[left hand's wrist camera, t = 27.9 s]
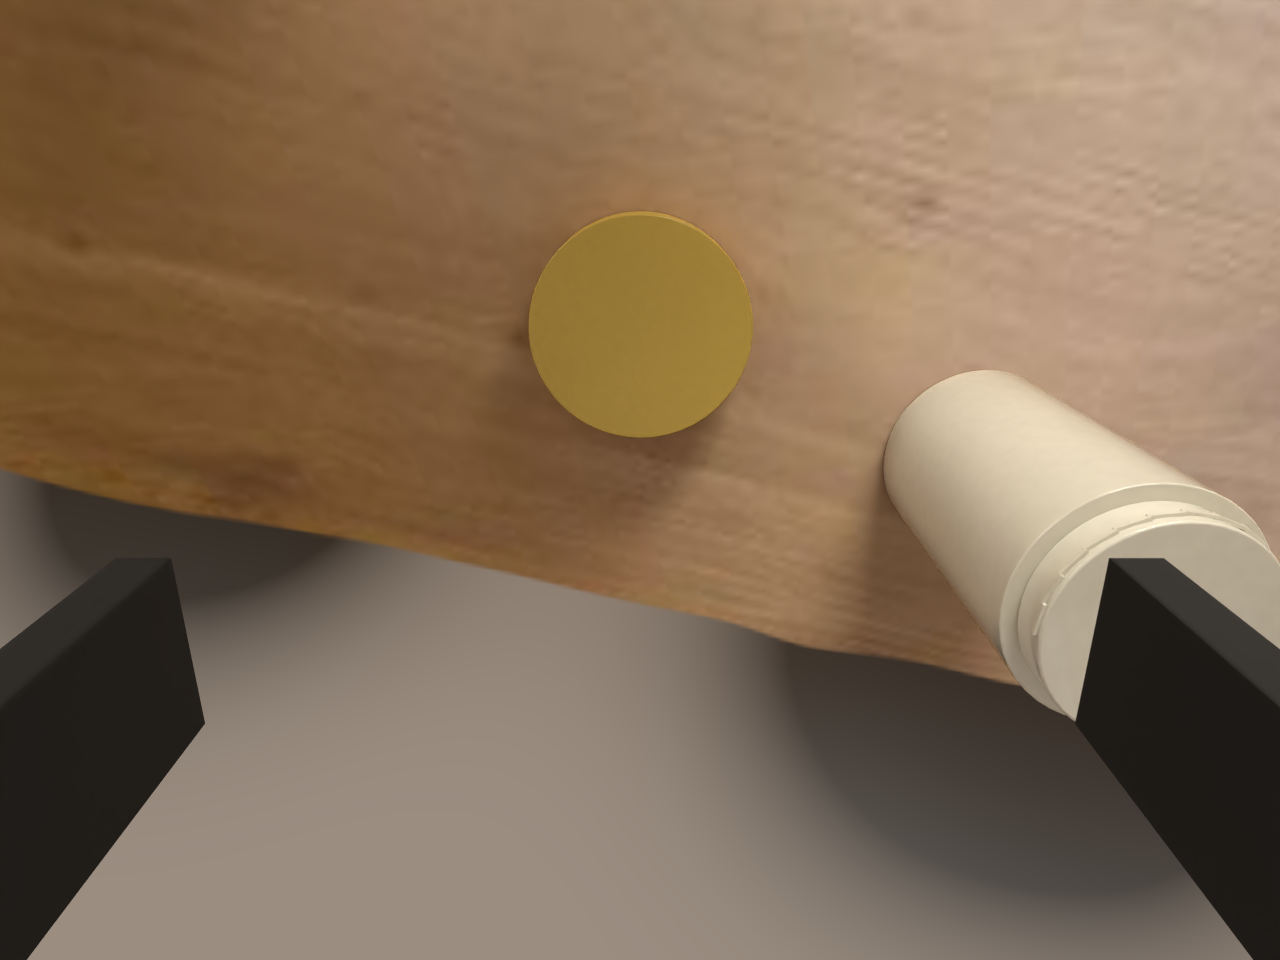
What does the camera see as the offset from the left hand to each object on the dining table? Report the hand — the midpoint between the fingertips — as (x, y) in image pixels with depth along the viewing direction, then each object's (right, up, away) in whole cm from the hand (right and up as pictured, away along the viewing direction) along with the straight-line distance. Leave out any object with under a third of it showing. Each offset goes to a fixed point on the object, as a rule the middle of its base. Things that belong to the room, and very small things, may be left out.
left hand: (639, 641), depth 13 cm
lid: (0, +8, +23) cm, 25 cm away
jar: (+15, +3, +27) cm, 31 cm away
